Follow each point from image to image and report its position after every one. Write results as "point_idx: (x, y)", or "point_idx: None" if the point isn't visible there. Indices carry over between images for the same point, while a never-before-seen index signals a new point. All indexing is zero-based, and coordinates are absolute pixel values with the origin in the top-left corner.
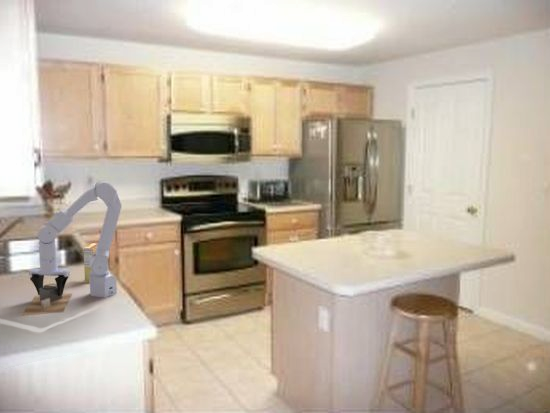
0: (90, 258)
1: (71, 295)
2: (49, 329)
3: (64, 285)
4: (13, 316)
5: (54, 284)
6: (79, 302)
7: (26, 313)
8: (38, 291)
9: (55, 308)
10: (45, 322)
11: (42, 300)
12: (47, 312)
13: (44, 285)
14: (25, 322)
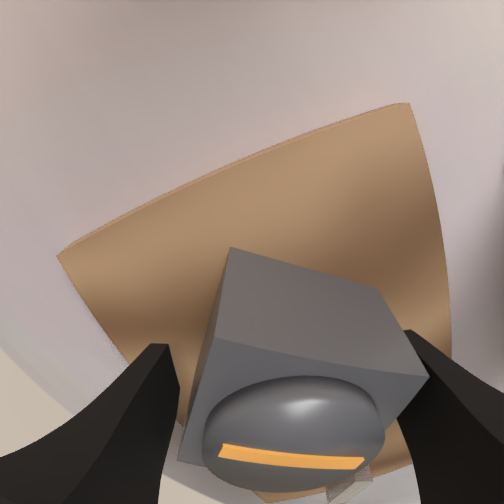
0: None
1: (434, 194)
2: (414, 494)
3: (477, 384)
4: (208, 478)
5: (342, 429)
6: (495, 269)
7: (277, 493)
8: (168, 427)
9: (400, 440)
10: (386, 483)
11: (337, 501)
12: (376, 472)
13: (213, 466)
14: (308, 498)
